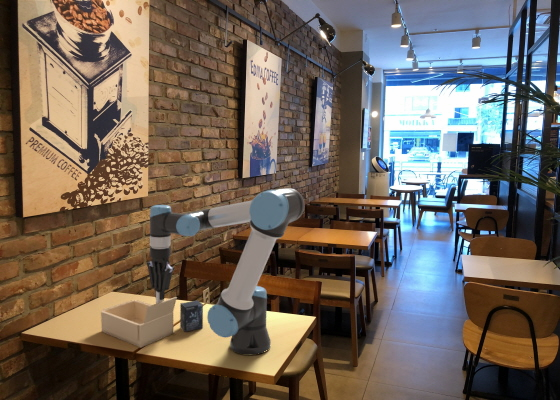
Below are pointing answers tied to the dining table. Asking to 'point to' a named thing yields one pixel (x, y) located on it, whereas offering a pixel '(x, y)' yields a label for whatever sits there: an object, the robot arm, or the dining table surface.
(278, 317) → the dining table surface
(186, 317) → the box
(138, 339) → the carton
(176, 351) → the dining table surface
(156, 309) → the flap
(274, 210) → the robot arm
